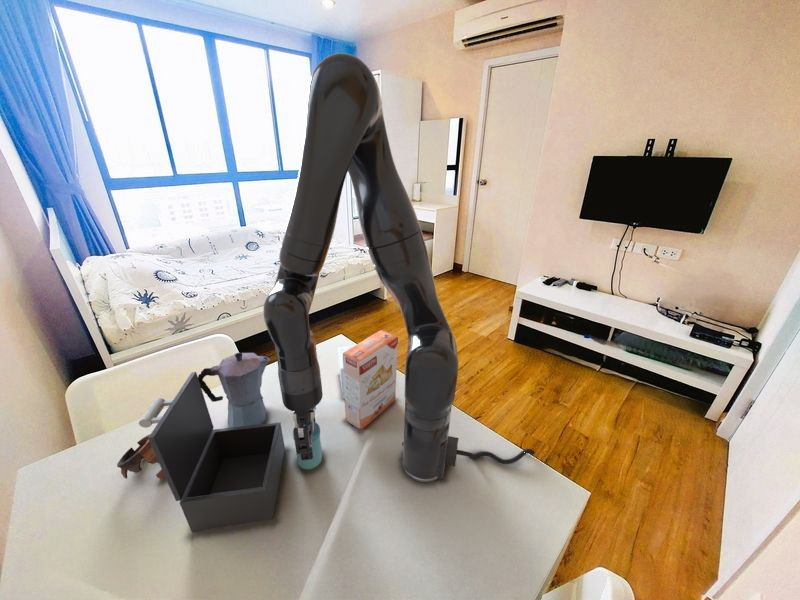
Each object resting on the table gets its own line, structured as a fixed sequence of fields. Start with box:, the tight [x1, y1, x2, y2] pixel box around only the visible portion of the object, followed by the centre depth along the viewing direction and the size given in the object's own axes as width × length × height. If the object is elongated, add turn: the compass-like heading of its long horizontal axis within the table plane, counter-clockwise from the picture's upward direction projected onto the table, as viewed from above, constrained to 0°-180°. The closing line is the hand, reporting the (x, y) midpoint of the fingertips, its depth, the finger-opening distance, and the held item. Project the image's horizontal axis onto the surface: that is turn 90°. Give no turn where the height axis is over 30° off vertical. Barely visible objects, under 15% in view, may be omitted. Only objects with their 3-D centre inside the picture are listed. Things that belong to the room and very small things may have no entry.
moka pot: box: [197, 352, 271, 428], centre depth 76 cm, size 10×15×20 cm, turn 124°
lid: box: [138, 371, 215, 502], centre depth 56 cm, size 14×16×5 cm
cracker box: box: [343, 329, 399, 430], centre depth 80 cm, size 14×6×21 cm, turn 143°
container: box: [292, 422, 323, 470], centre depth 69 cm, size 6×6×9 cm
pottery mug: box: [116, 433, 166, 480], centre depth 68 cm, size 12×10×8 cm
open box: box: [179, 421, 286, 533], centre depth 63 cm, size 14×16×9 cm
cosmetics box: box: [337, 344, 356, 399], centre depth 92 cm, size 10×6×10 cm, turn 14°
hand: (309, 441), depth 68 cm, fingers open, 8 cm apart
